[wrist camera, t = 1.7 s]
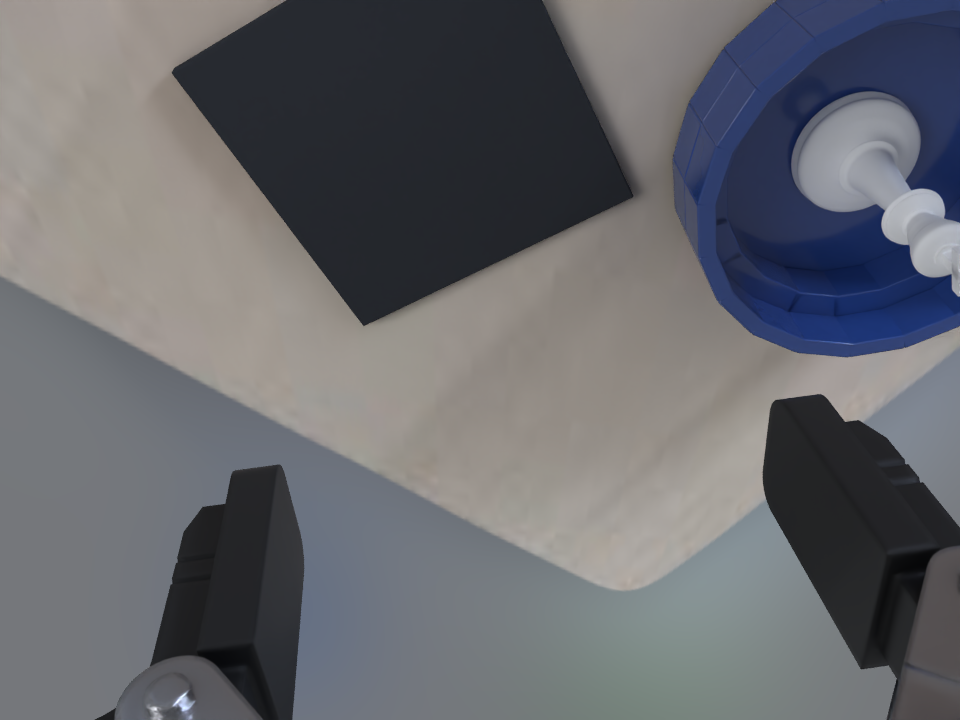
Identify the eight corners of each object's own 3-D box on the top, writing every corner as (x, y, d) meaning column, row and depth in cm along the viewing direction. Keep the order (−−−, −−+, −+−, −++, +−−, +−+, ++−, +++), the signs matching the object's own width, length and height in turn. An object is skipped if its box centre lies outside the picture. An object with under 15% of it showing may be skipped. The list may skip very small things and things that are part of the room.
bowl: (1008, -125, 30) (1086, -100, 26) (1054, 208, 38) (1120, 263, 34) (617, 77, 34) (639, 124, 30) (734, 343, 42) (763, 405, 38)
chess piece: (797, 221, 37) (897, 365, 29) (783, 115, 34) (890, 243, 26) (917, 184, 37) (1053, 322, 29) (913, 73, 34) (1063, 192, 26)
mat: (485, -120, 29) (486, -118, 29) (631, 191, 37) (633, 197, 36) (174, 68, 33) (170, 72, 32) (364, 320, 40) (363, 326, 39)
